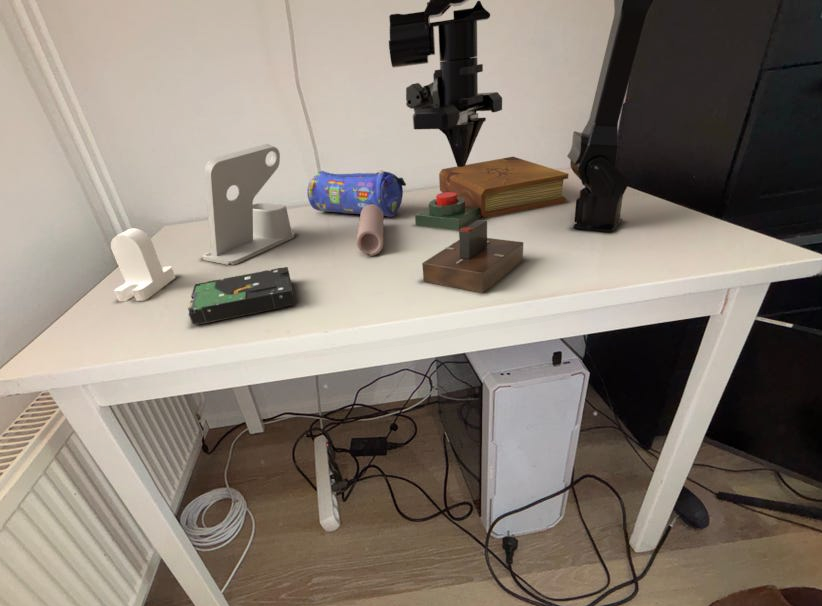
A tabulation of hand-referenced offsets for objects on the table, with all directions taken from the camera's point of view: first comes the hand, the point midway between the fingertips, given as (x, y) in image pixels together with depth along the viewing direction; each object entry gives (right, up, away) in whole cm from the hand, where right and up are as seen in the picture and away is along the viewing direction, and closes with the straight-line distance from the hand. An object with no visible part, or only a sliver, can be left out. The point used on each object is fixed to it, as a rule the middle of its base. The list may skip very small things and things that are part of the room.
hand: (461, 166), depth 83 cm
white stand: (-54, -21, +2) cm, 58 cm away
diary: (+12, +2, +24) cm, 27 cm away
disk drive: (-34, -24, -8) cm, 43 cm away
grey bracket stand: (-40, -11, +15) cm, 44 cm away
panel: (+1, -19, -8) cm, 21 cm away
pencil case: (-19, 0, +27) cm, 33 cm away
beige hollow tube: (-15, -10, +10) cm, 21 cm away
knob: (0, -17, -10) cm, 19 cm away
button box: (0, -5, +14) cm, 15 cm away
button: (-1, -2, +12) cm, 12 cm away
